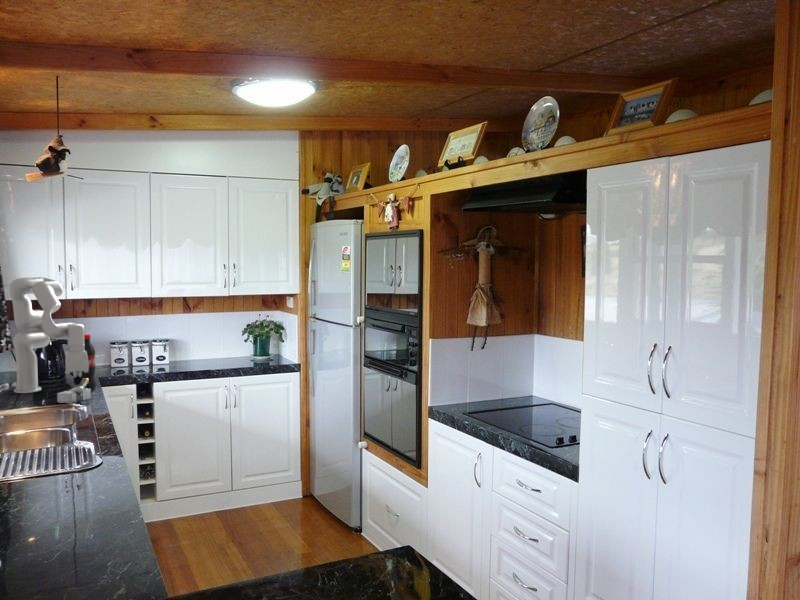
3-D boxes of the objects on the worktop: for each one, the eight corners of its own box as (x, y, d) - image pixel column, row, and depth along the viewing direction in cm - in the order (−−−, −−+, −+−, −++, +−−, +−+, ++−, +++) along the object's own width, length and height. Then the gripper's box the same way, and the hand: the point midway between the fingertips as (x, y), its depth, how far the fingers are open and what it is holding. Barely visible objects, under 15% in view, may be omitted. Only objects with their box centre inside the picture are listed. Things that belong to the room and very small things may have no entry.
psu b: (68, 400, 324) (68, 389, 323) (76, 397, 330) (76, 387, 329) (82, 400, 322) (82, 390, 322) (90, 398, 328) (90, 387, 328)
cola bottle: (89, 392, 341) (87, 335, 339) (75, 391, 343) (73, 335, 341) (99, 388, 350) (98, 333, 347) (85, 387, 351) (84, 333, 349)
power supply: (57, 403, 316) (56, 393, 315) (65, 400, 322) (65, 390, 321) (71, 404, 314) (71, 393, 314) (80, 401, 320) (79, 391, 320)
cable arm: (82, 393, 312) (82, 387, 312) (74, 393, 311) (73, 387, 311) (89, 382, 335) (89, 377, 335) (82, 383, 334) (82, 377, 334)
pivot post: (69, 406, 311) (69, 394, 311) (77, 403, 317) (77, 391, 317) (80, 406, 310) (80, 395, 310) (88, 404, 316) (88, 392, 316)
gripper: (61, 350, 317) (62, 387, 319) (94, 348, 326) (95, 384, 327) (58, 348, 323) (59, 385, 325) (90, 346, 332) (91, 381, 333)
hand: (77, 384), depth 326 cm, fingers closed
